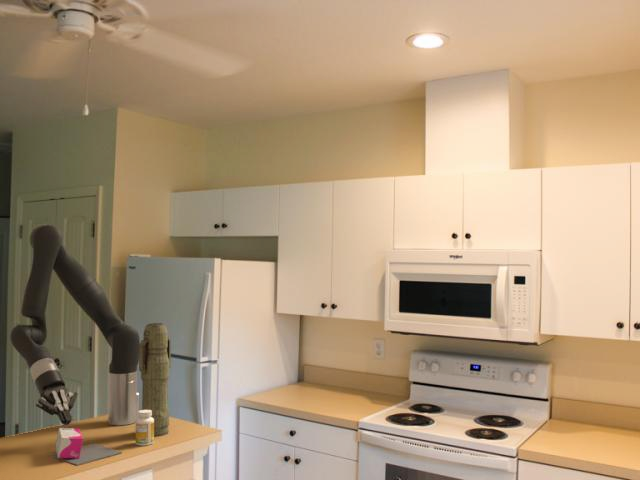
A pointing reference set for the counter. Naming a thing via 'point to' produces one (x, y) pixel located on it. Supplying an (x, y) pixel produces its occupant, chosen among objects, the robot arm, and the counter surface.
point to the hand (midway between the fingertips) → (68, 423)
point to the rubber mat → (90, 454)
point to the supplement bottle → (144, 428)
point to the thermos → (155, 374)
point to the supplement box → (69, 443)
